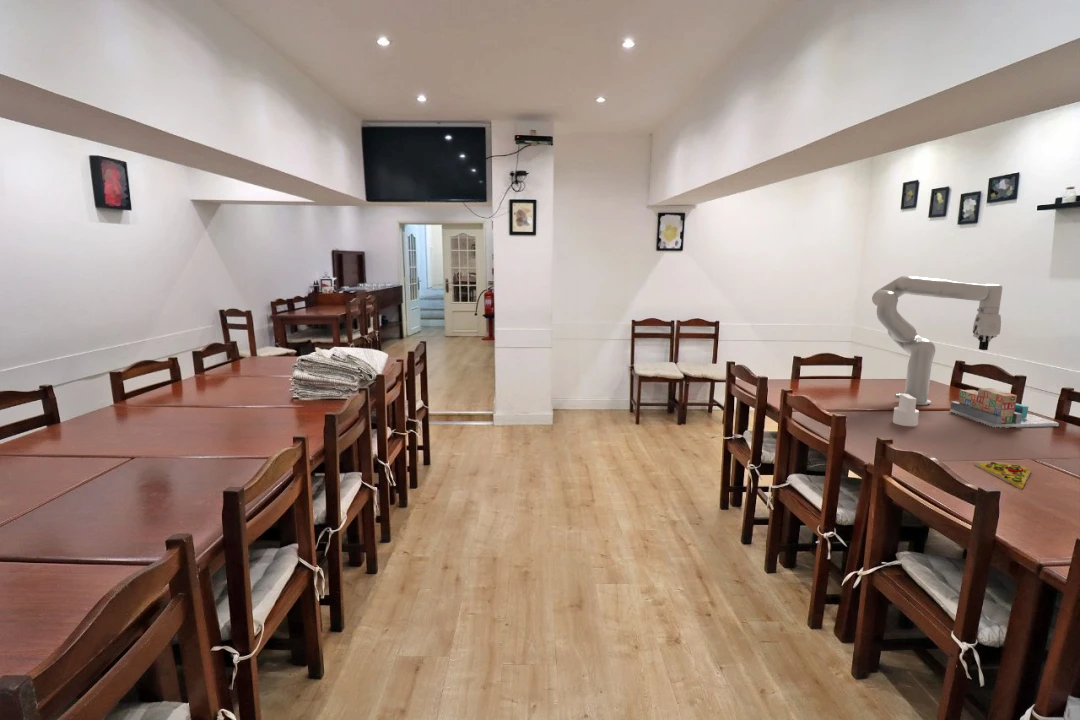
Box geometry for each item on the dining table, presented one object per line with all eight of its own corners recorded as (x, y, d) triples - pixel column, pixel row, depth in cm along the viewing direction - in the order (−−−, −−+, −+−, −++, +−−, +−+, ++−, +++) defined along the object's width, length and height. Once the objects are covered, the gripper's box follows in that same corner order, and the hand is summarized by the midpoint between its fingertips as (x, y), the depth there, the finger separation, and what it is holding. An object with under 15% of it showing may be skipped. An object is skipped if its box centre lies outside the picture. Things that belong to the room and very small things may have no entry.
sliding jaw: (1015, 423, 231) (1017, 411, 230) (968, 407, 254) (969, 397, 253) (1042, 422, 231) (1044, 411, 230) (992, 407, 255) (994, 396, 254)
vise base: (995, 428, 231) (997, 416, 230) (949, 412, 254) (951, 401, 253) (1058, 426, 232) (1060, 414, 231) (1007, 410, 256) (1009, 400, 255)
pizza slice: (1028, 471, 187) (1030, 463, 186) (1053, 495, 168) (1054, 486, 168) (972, 464, 193) (973, 456, 193) (989, 487, 175) (990, 478, 174)
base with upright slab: (921, 426, 233) (924, 399, 231) (897, 425, 235) (901, 398, 233) (911, 420, 242) (915, 394, 240) (889, 419, 244) (892, 393, 241)
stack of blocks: (957, 409, 252) (961, 383, 250) (970, 409, 253) (974, 383, 251) (999, 423, 231) (1003, 395, 229) (1013, 423, 232) (1017, 394, 230)
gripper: (980, 311, 252) (974, 351, 256) (1011, 311, 253) (1005, 350, 257) (966, 310, 260) (961, 348, 263) (996, 309, 261) (991, 348, 264)
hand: (983, 349), depth 260 cm, fingers closed
